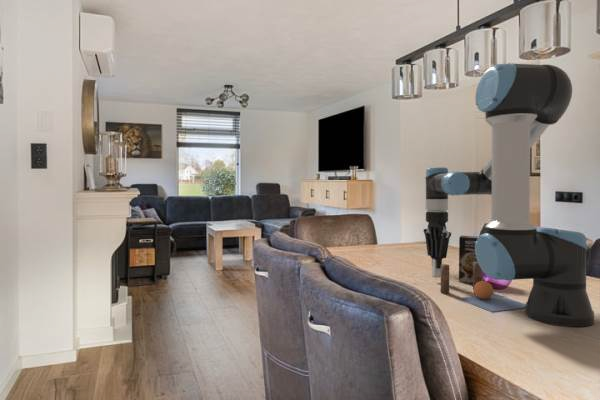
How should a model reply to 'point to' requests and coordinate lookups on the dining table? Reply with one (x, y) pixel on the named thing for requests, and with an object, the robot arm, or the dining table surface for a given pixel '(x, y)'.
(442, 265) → the post left
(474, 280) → the post right
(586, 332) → the dining table surface
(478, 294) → the ball
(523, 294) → the dining table surface
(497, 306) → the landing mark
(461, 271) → the coffee box
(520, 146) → the robot arm
